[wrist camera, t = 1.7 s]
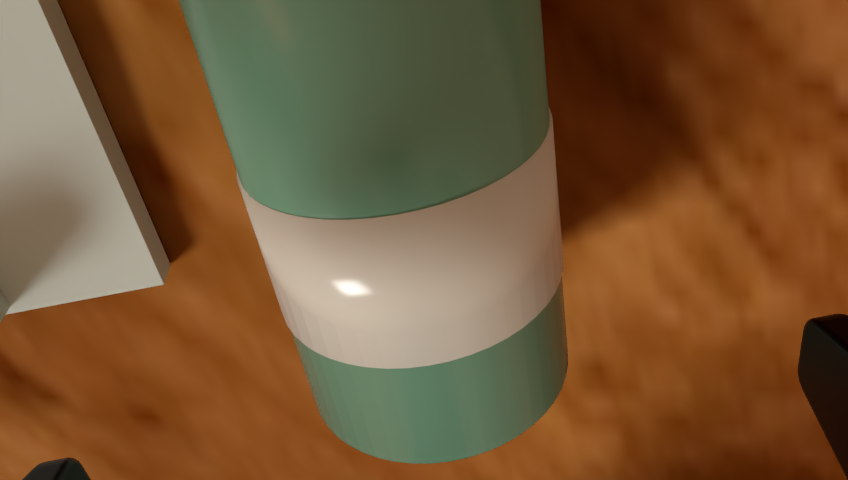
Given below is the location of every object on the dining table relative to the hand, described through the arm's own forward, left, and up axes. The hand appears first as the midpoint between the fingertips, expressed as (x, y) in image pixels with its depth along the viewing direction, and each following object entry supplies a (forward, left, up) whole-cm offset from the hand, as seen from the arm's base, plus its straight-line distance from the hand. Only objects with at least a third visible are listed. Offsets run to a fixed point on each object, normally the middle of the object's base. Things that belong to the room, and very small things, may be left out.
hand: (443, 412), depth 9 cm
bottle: (+3, 0, -9) cm, 9 cm away
